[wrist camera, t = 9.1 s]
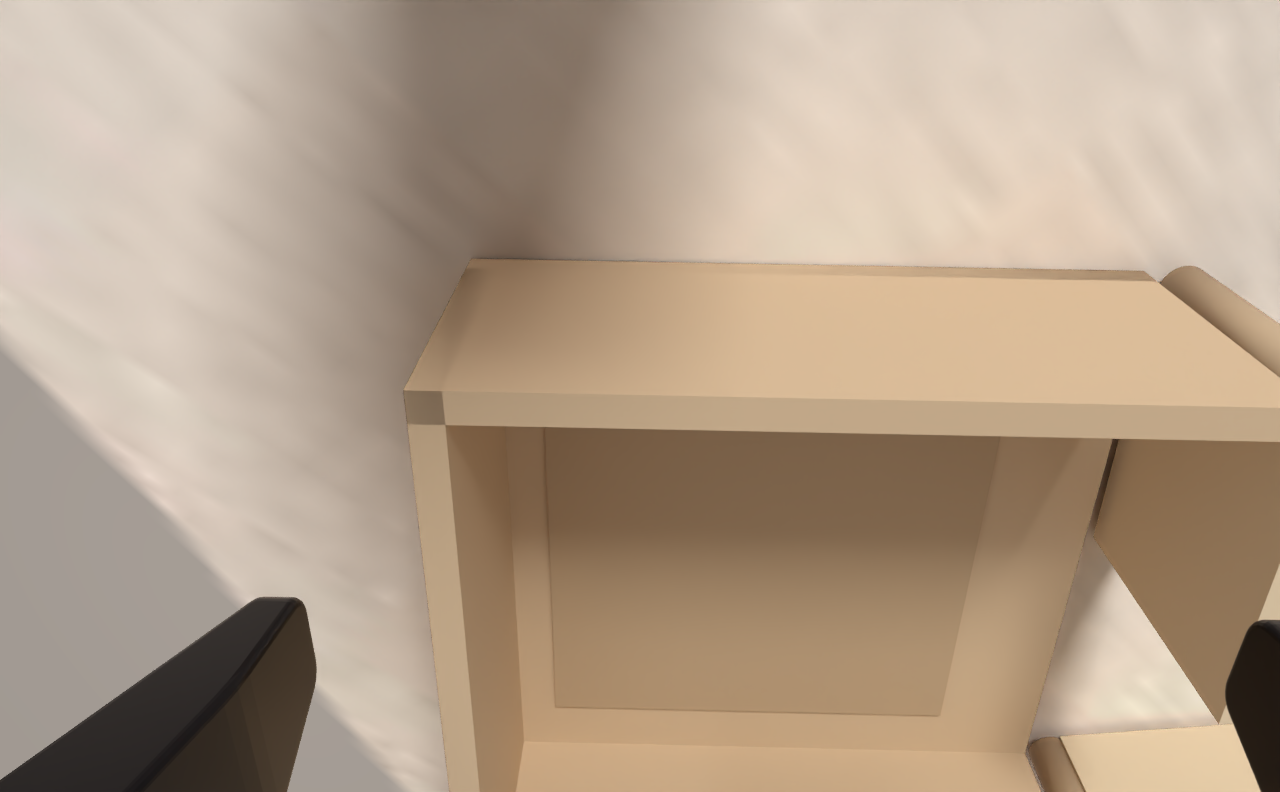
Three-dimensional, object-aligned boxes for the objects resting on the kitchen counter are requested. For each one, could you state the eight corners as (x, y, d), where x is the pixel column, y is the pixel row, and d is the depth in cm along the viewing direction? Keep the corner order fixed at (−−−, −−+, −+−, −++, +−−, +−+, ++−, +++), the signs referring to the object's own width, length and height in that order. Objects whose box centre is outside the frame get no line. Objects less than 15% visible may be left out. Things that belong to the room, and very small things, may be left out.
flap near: (1218, 266, 20) (1416, 397, 15) (1139, 537, 23) (1279, 724, 18) (1164, 265, 20) (1342, 397, 15) (1093, 536, 23) (1218, 724, 18)
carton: (1144, 270, 20) (1318, 408, 15) (1013, 751, 26) (1101, 967, 21) (470, 258, 20) (403, 390, 15) (506, 739, 27) (467, 951, 21)
